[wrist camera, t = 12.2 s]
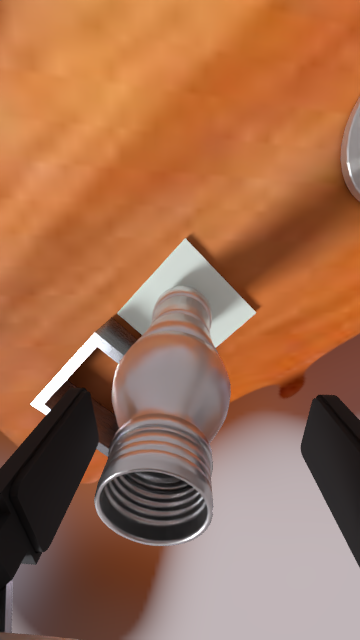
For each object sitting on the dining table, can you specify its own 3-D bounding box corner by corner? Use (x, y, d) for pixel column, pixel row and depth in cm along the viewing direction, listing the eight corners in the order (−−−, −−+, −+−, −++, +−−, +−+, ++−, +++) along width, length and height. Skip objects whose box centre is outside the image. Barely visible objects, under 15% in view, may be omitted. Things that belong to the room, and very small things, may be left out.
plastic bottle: (211, 281, 23) (284, 427, 5) (209, 336, 26) (251, 578, 7) (155, 281, 24) (16, 415, 5) (157, 335, 26) (68, 562, 7)
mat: (185, 238, 23) (185, 238, 22) (254, 310, 25) (256, 312, 25) (119, 311, 26) (116, 313, 25) (186, 369, 29) (186, 373, 28)
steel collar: (111, 317, 26) (94, 332, 22) (180, 376, 29) (179, 401, 24) (55, 379, 30) (30, 404, 25) (121, 427, 32) (110, 458, 28)
